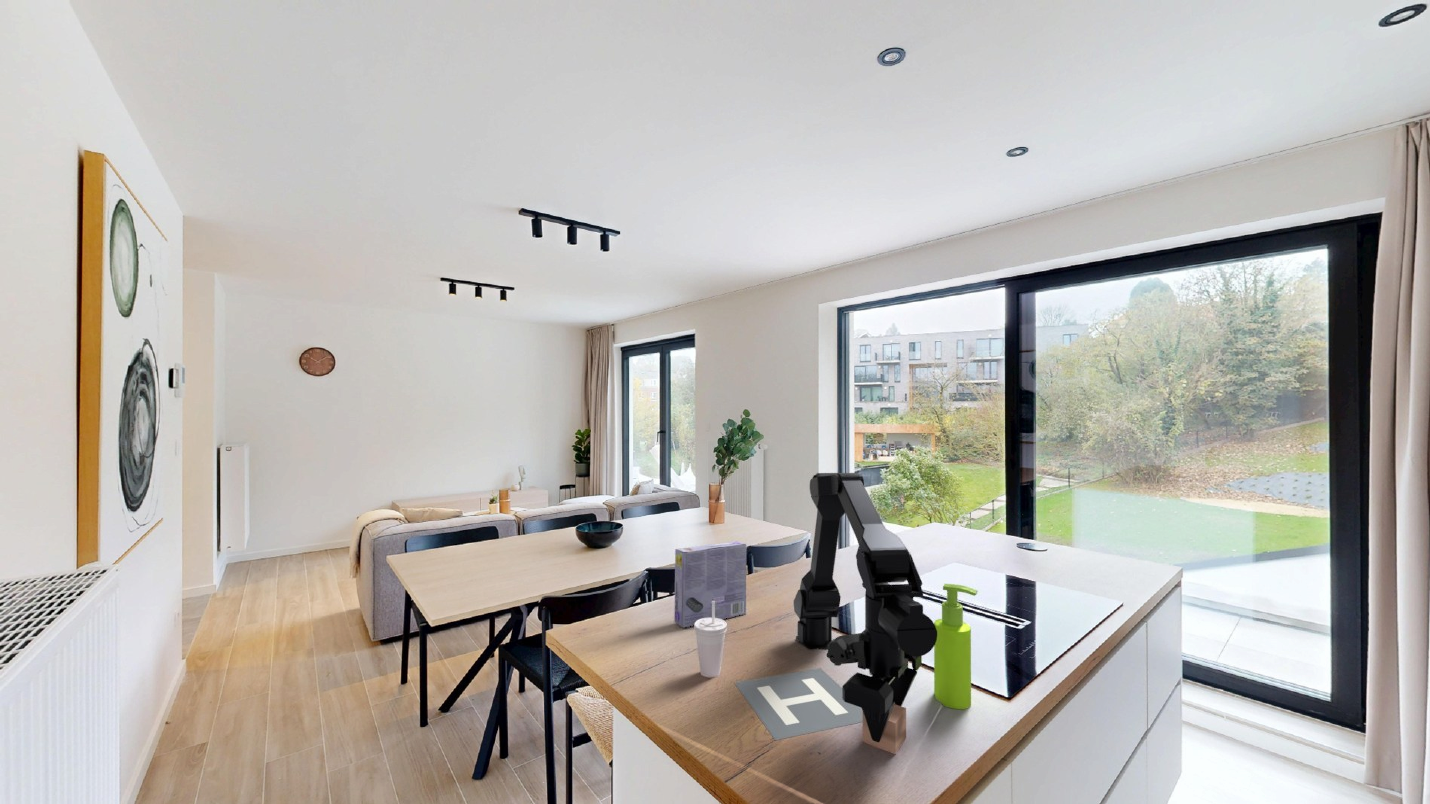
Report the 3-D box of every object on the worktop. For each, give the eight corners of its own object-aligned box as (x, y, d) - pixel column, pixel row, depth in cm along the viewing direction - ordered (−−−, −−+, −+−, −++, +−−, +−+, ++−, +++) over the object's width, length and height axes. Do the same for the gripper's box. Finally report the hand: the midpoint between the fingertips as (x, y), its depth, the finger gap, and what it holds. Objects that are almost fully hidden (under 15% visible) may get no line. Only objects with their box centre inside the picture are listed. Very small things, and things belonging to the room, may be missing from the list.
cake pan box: (739, 607, 136) (740, 538, 137) (751, 614, 132) (751, 542, 132) (672, 622, 126) (673, 548, 127) (682, 630, 122) (682, 553, 122)
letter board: (820, 670, 104) (820, 668, 104) (876, 721, 86) (876, 719, 87) (734, 684, 98) (734, 682, 98) (775, 742, 81) (775, 740, 81)
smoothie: (723, 684, 98) (723, 608, 98) (689, 681, 99) (690, 605, 99) (729, 668, 104) (729, 596, 104) (697, 664, 106) (698, 594, 106)
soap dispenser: (975, 715, 88) (975, 594, 89) (931, 702, 92) (931, 587, 92) (979, 699, 93) (979, 584, 94) (937, 687, 97) (937, 578, 97)
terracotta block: (874, 729, 85) (874, 697, 85) (906, 740, 82) (906, 708, 82) (862, 744, 81) (862, 711, 81) (895, 757, 78) (895, 723, 78)
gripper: (857, 597, 94) (857, 686, 93) (809, 633, 79) (808, 739, 79) (922, 612, 87) (922, 708, 87) (883, 654, 72) (883, 770, 72)
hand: (884, 728), depth 81 cm, fingers open, 7 cm apart
